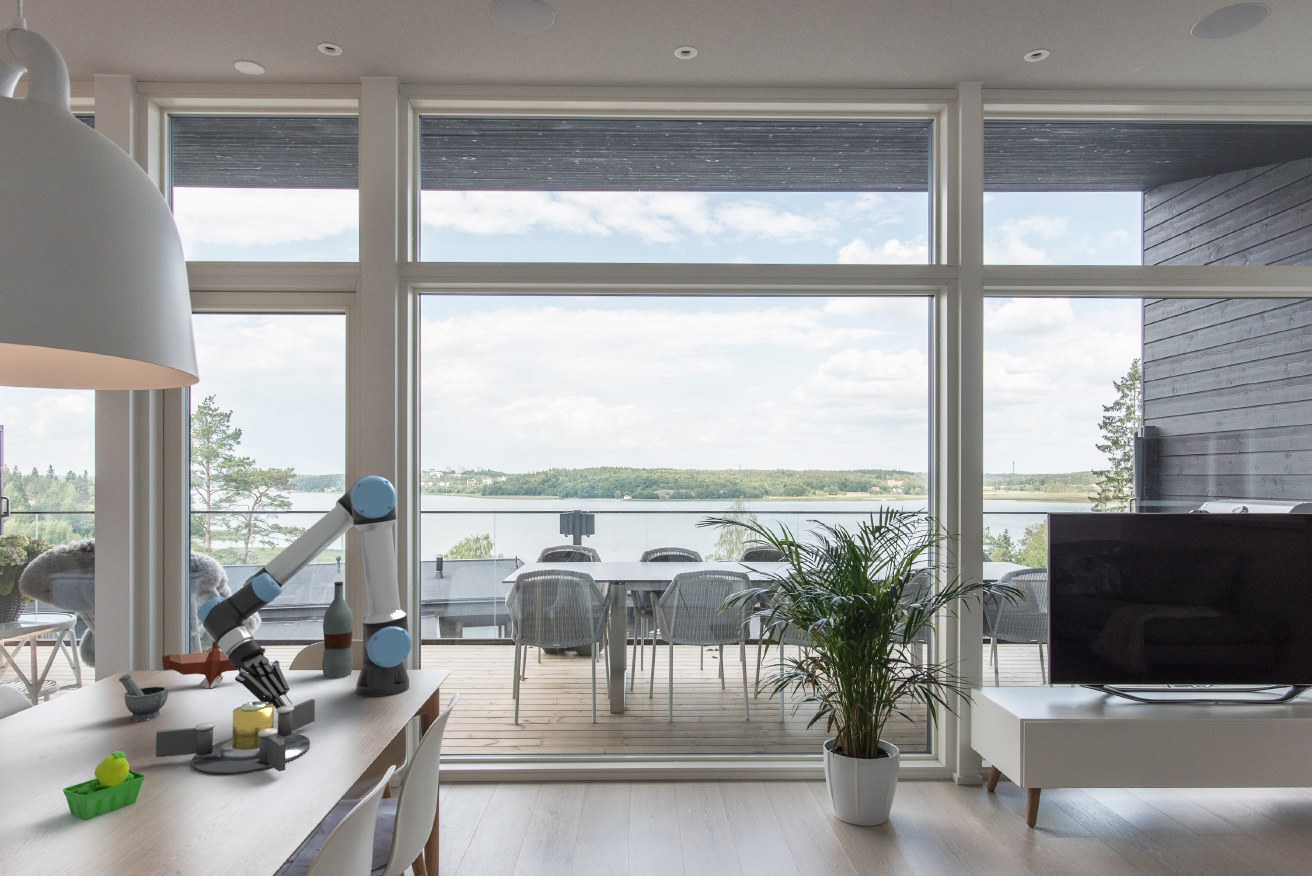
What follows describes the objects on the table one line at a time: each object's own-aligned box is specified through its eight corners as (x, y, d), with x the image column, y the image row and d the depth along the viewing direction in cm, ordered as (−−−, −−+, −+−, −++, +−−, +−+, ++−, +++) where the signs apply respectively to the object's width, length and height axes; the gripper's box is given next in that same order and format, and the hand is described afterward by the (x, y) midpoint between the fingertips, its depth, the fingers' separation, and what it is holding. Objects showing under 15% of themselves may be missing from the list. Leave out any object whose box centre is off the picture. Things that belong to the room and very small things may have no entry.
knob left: (255, 760, 166) (255, 731, 167) (273, 755, 169) (273, 727, 169) (272, 774, 158) (273, 744, 159) (291, 769, 161) (292, 739, 161)
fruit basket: (125, 793, 152) (126, 737, 153) (150, 802, 148) (151, 744, 149) (59, 816, 142) (61, 755, 143) (84, 826, 138) (86, 763, 139)
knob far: (216, 749, 173) (217, 721, 174) (211, 755, 170) (211, 726, 170) (160, 754, 170) (160, 726, 171) (153, 760, 167) (154, 731, 167)
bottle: (350, 669, 249) (351, 579, 251) (355, 676, 242) (356, 582, 243) (319, 674, 245) (321, 581, 246) (324, 680, 237) (325, 584, 238)
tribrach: (318, 732, 188) (318, 683, 189) (298, 768, 165) (299, 712, 166) (211, 741, 182) (212, 691, 183) (175, 780, 159) (176, 722, 159)
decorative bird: (270, 659, 250) (268, 620, 246) (262, 694, 234) (260, 654, 229) (171, 667, 241) (167, 627, 236) (156, 704, 224) (151, 662, 220)
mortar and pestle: (171, 709, 208) (172, 666, 208) (163, 720, 199) (164, 674, 200) (122, 715, 203) (123, 670, 204) (112, 725, 195) (114, 678, 195)
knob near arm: (285, 737, 181) (286, 711, 181) (272, 736, 182) (273, 709, 182) (318, 722, 192) (319, 697, 192) (306, 721, 193) (306, 696, 193)
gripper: (252, 652, 202) (303, 720, 197) (212, 664, 190) (264, 736, 184) (269, 633, 201) (320, 701, 196) (229, 644, 188) (282, 716, 183)
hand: (293, 718), depth 190 cm, fingers closed
